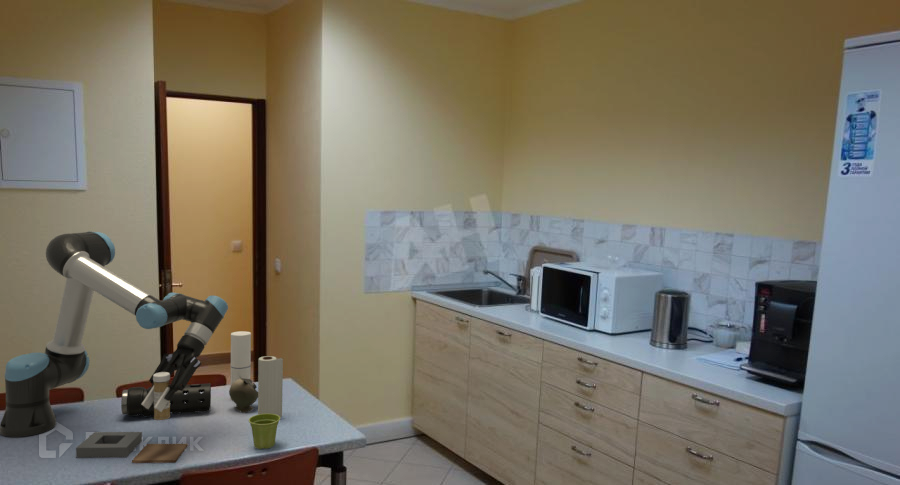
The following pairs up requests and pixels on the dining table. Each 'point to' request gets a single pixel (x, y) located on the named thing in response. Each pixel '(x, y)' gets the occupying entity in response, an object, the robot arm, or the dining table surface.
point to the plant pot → (264, 430)
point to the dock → (109, 444)
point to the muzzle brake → (193, 398)
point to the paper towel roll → (270, 385)
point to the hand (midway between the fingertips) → (151, 407)
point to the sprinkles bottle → (160, 385)
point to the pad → (160, 453)
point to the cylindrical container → (240, 355)
